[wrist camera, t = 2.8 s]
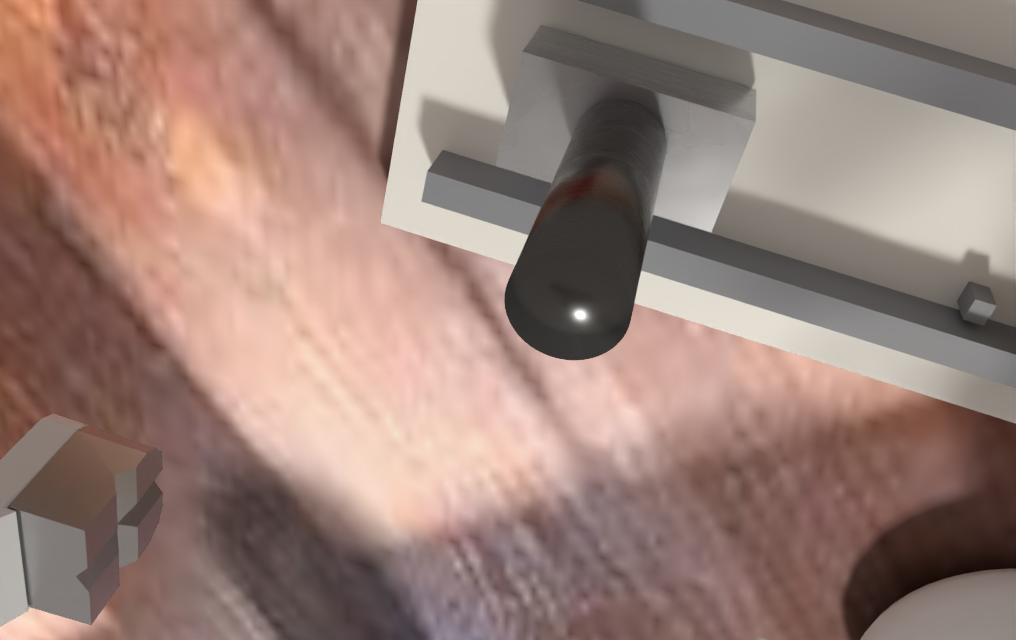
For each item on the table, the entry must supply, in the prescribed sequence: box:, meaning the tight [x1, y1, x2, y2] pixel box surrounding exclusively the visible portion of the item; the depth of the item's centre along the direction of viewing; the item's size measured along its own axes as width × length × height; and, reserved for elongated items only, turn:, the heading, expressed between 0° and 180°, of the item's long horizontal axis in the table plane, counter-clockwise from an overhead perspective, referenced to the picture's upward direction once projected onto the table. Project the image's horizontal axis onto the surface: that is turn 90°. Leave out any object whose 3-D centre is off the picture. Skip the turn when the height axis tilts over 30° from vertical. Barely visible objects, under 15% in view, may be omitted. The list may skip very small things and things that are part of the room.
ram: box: [495, 25, 756, 360], centre depth 22 cm, size 6×3×10 cm, turn 77°
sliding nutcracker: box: [381, 0, 1016, 423], centre depth 25 cm, size 25×12×6 cm, turn 77°
